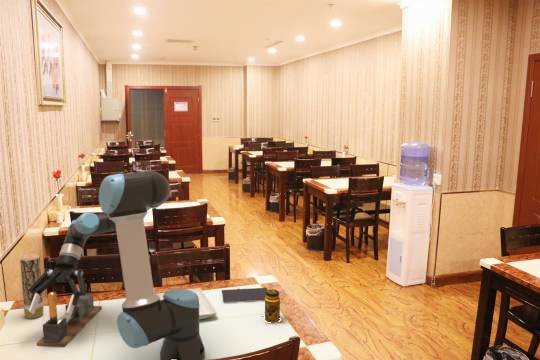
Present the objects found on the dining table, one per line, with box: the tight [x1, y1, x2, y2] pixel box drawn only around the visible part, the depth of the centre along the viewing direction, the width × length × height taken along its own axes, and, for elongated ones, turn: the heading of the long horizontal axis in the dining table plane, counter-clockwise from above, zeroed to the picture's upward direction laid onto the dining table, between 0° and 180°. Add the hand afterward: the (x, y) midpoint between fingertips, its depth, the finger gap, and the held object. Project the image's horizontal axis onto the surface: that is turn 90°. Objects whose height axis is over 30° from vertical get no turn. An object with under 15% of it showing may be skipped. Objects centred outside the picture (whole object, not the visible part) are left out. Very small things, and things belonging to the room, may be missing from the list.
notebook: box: [221, 287, 269, 304], centre depth 202 cm, size 13×2×21 cm
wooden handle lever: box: [46, 291, 77, 325], centre depth 165 cm, size 18×3×16 cm, turn 176°
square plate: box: [155, 287, 217, 320], centre depth 186 cm, size 27×27×4 cm
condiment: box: [261, 289, 284, 324], centre depth 180 cm, size 7×8×12 cm
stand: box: [36, 292, 103, 348], centre depth 172 cm, size 30×10×8 cm, turn 176°
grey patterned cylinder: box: [19, 253, 44, 320], centre depth 178 cm, size 7×7×25 cm
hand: (49, 313), depth 156 cm, fingers open, 13 cm apart
